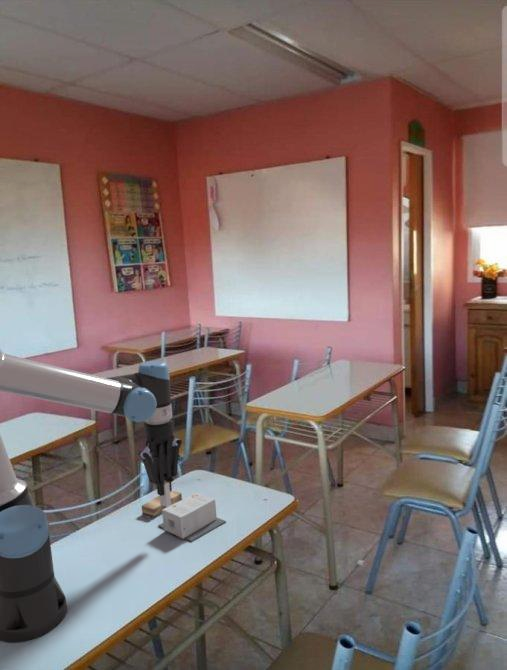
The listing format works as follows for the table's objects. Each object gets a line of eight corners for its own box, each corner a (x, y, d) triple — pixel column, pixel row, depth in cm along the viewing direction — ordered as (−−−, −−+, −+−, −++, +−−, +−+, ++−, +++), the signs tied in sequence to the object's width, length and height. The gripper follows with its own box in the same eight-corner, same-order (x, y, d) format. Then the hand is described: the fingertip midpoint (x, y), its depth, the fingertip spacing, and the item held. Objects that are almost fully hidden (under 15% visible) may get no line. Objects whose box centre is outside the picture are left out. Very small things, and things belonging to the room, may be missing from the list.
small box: (182, 539, 147) (217, 519, 157) (180, 517, 146) (215, 498, 156) (163, 530, 153) (198, 511, 162) (161, 509, 152) (196, 491, 161)
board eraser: (154, 519, 161) (153, 509, 160) (142, 515, 164) (141, 505, 163) (182, 502, 171) (181, 493, 170) (170, 499, 173) (169, 489, 173)
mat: (191, 542, 147) (191, 540, 146) (158, 526, 156) (158, 525, 156) (225, 522, 156) (225, 521, 156) (192, 508, 165) (192, 507, 165)
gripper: (147, 429, 137) (155, 518, 141) (186, 416, 147) (193, 499, 151) (129, 424, 142) (137, 510, 146) (168, 411, 152) (175, 492, 156)
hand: (165, 504), depth 148 cm, fingers closed
